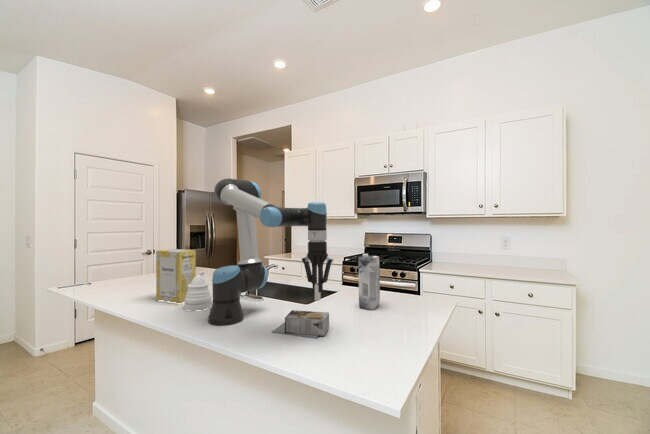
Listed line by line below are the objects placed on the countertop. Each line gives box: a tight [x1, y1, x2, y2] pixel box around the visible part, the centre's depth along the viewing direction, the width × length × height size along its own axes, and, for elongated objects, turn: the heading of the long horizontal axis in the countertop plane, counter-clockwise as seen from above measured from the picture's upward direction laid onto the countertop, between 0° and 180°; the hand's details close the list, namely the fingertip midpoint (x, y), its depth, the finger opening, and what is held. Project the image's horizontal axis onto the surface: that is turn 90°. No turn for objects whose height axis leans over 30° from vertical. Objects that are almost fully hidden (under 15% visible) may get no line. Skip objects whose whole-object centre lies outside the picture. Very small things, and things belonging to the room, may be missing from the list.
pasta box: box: [155, 248, 197, 303], centre depth 167 cm, size 18×10×28 cm, turn 66°
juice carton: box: [357, 253, 381, 311], centre depth 151 cm, size 9×10×27 cm
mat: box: [271, 321, 320, 340], centre depth 121 cm, size 19×14×1 cm
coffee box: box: [284, 309, 330, 337], centre depth 119 cm, size 9×6×16 cm
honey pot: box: [184, 271, 213, 312], centre depth 152 cm, size 13×13×18 cm
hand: (317, 300), depth 119 cm, fingers closed
